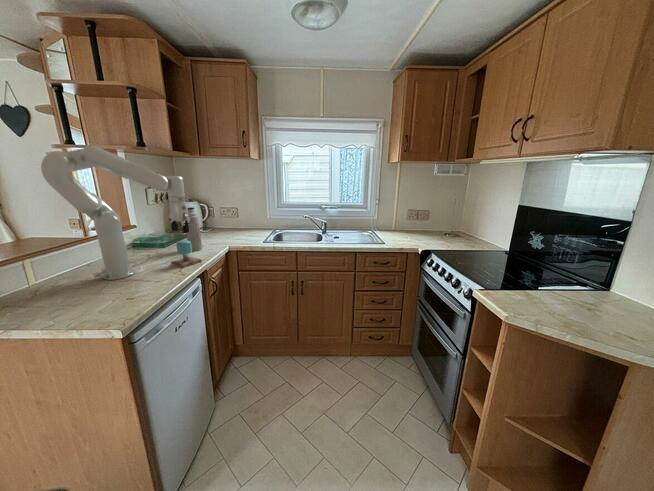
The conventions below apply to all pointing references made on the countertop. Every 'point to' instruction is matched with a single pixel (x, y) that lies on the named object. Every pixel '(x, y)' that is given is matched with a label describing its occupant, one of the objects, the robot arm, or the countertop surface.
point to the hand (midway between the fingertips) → (180, 231)
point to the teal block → (184, 247)
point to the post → (185, 257)
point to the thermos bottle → (194, 231)
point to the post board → (186, 262)
